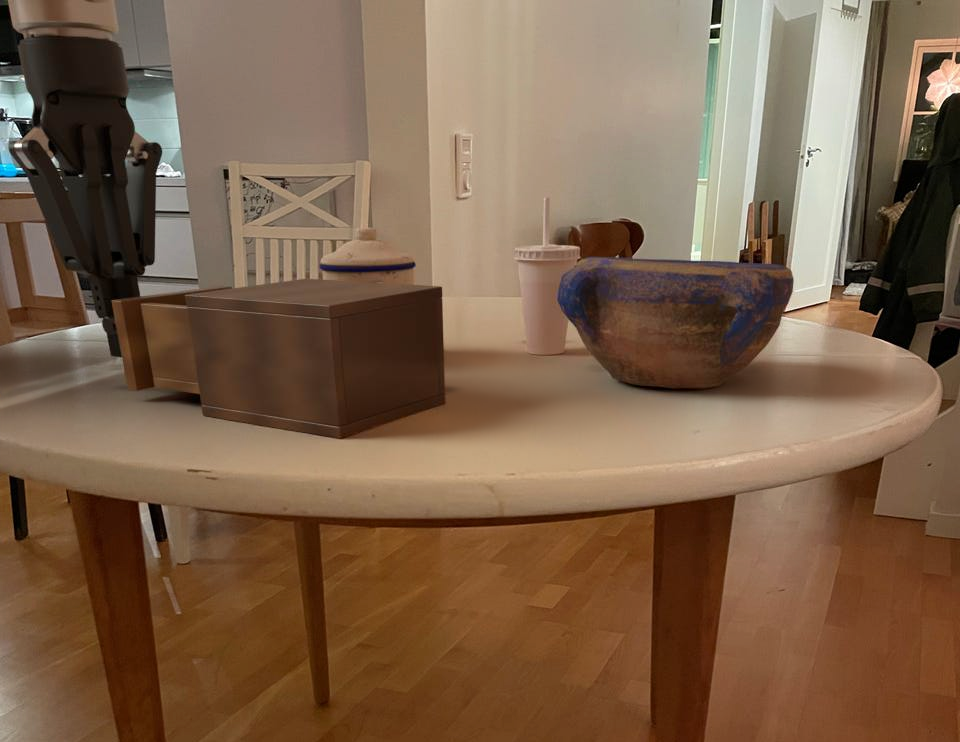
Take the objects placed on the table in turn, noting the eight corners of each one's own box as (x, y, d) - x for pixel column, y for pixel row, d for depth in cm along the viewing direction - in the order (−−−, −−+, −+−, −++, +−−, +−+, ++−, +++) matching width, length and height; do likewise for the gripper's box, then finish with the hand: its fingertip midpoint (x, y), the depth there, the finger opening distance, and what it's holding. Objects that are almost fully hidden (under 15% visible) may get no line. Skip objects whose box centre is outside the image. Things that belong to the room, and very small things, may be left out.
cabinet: (202, 415, 69) (184, 294, 65) (315, 385, 79) (305, 278, 75) (340, 438, 62) (329, 305, 59) (445, 403, 72) (442, 286, 68)
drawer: (84, 383, 76) (66, 296, 73) (190, 361, 85) (179, 282, 82) (237, 407, 68) (225, 309, 64) (339, 380, 76) (332, 293, 73)
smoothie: (505, 355, 91) (505, 198, 84) (524, 345, 96) (525, 196, 90) (568, 358, 89) (573, 197, 82) (584, 347, 94) (589, 196, 88)
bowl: (794, 368, 83) (811, 248, 78) (760, 410, 68) (778, 266, 64) (604, 355, 90) (609, 244, 85) (536, 391, 75) (538, 260, 71)
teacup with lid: (320, 352, 94) (309, 227, 88) (406, 346, 96) (401, 224, 91) (341, 373, 83) (330, 233, 78) (437, 366, 86) (433, 230, 81)
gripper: (20, 24, 64) (91, 372, 74) (169, 42, 73) (213, 348, 84) (-41, 34, 67) (35, 364, 78) (109, 50, 77) (158, 342, 88)
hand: (127, 355), depth 81 cm, fingers closed
